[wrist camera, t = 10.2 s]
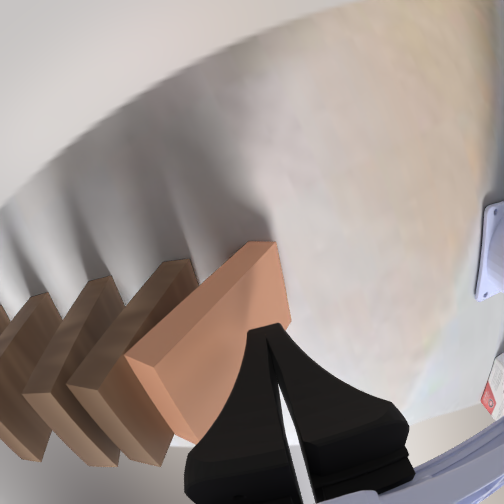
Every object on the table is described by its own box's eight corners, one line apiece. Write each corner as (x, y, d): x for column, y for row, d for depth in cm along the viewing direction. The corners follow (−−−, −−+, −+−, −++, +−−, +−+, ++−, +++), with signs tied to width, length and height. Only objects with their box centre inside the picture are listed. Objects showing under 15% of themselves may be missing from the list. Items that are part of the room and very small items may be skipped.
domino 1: (48, 292, 16) (-23, 393, 8) (82, 354, 19) (41, 462, 10) (30, 296, 16) (-40, 393, 8) (65, 357, 18) (21, 459, 10)
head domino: (275, 241, 16) (153, 367, 9) (291, 320, 18) (203, 447, 11) (248, 241, 17) (123, 354, 10) (266, 317, 19) (175, 434, 12)
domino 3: (189, 258, 16) (97, 390, 8) (215, 333, 18) (160, 467, 10) (163, 261, 17) (65, 383, 9) (191, 334, 19) (129, 459, 11)
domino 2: (111, 275, 17) (50, 392, 8) (143, 344, 19) (117, 466, 10) (88, 281, 17) (21, 393, 8) (121, 348, 19) (88, 466, 10)
